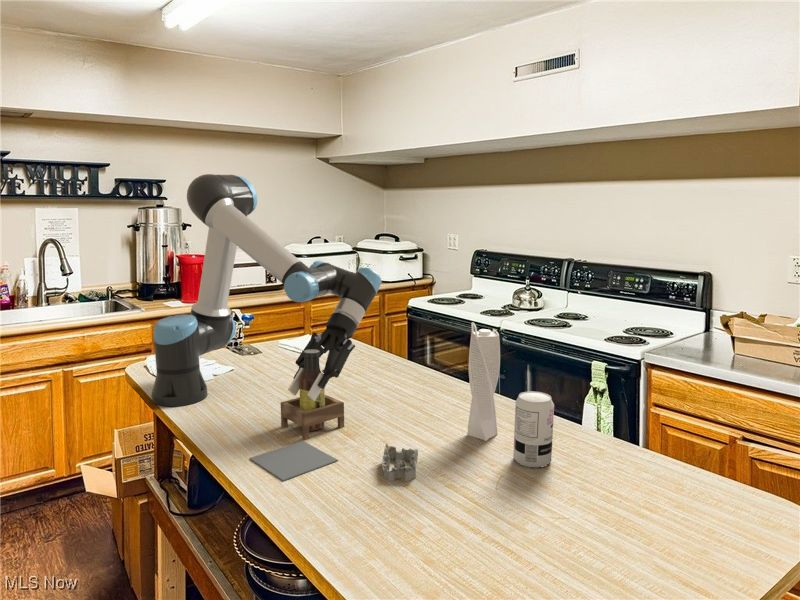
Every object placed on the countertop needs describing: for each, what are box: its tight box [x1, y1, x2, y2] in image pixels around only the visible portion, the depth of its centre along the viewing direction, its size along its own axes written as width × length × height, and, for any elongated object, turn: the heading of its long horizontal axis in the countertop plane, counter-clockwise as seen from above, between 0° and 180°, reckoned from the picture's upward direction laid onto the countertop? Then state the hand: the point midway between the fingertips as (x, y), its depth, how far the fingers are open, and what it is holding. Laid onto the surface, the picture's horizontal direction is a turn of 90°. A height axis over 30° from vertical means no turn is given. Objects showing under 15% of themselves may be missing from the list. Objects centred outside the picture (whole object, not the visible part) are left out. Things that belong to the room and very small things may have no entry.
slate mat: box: [249, 440, 339, 482], centre depth 132 cm, size 14×14×1 cm
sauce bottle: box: [299, 349, 326, 432], centre depth 149 cm, size 6×6×20 cm
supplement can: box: [513, 390, 555, 468], centre depth 131 cm, size 8×8×15 cm
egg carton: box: [381, 443, 419, 482], centre depth 128 cm, size 11×8×4 cm
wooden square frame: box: [280, 394, 345, 441], centre depth 150 cm, size 11×12×6 cm
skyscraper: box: [466, 321, 501, 442], centre depth 144 cm, size 8×8×28 cm
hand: (301, 395), depth 146 cm, fingers closed on sauce bottle, 6 cm apart
